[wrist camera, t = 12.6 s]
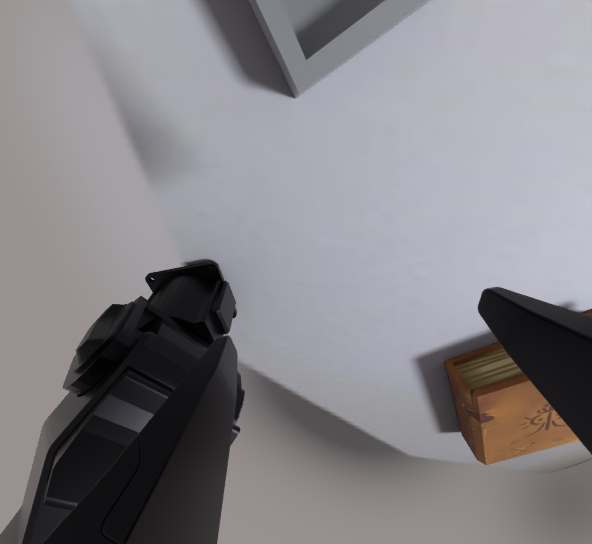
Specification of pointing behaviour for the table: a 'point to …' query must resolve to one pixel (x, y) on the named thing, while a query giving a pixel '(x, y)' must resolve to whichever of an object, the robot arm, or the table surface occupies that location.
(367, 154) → the table surface
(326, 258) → the table surface
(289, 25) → the tray
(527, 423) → the diary
